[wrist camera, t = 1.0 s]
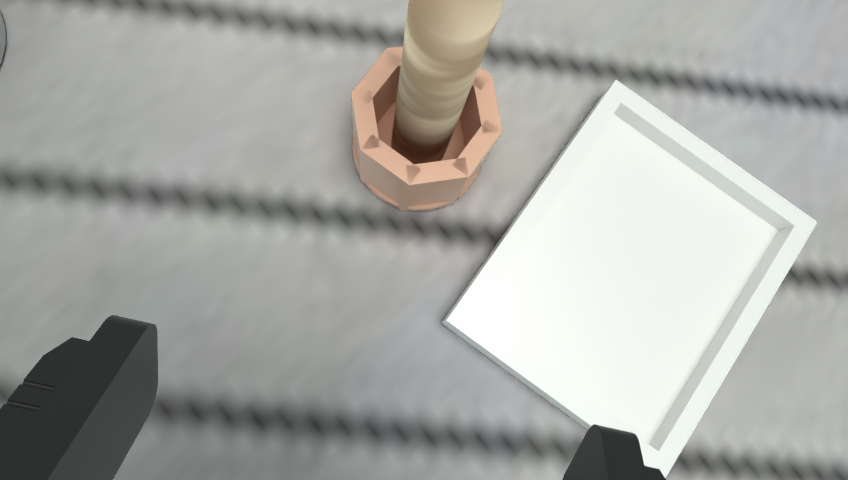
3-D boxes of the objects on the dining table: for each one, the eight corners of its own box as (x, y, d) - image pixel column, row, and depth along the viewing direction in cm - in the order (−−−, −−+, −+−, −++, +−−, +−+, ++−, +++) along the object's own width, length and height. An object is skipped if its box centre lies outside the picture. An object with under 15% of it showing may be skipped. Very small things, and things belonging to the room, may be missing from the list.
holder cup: (326, 160, 39) (319, 125, 33) (403, 63, 41) (410, 12, 35) (432, 237, 39) (445, 215, 33) (506, 137, 40) (530, 98, 34)
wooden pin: (379, 148, 38) (391, 2, 23) (412, 106, 39) (445, -65, 23) (425, 181, 38) (468, 57, 23) (457, 138, 39) (521, -12, 23)
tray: (441, 322, 38) (446, 320, 36) (600, 96, 41) (616, 79, 39) (644, 471, 38) (664, 479, 35) (790, 230, 41) (817, 222, 38)
